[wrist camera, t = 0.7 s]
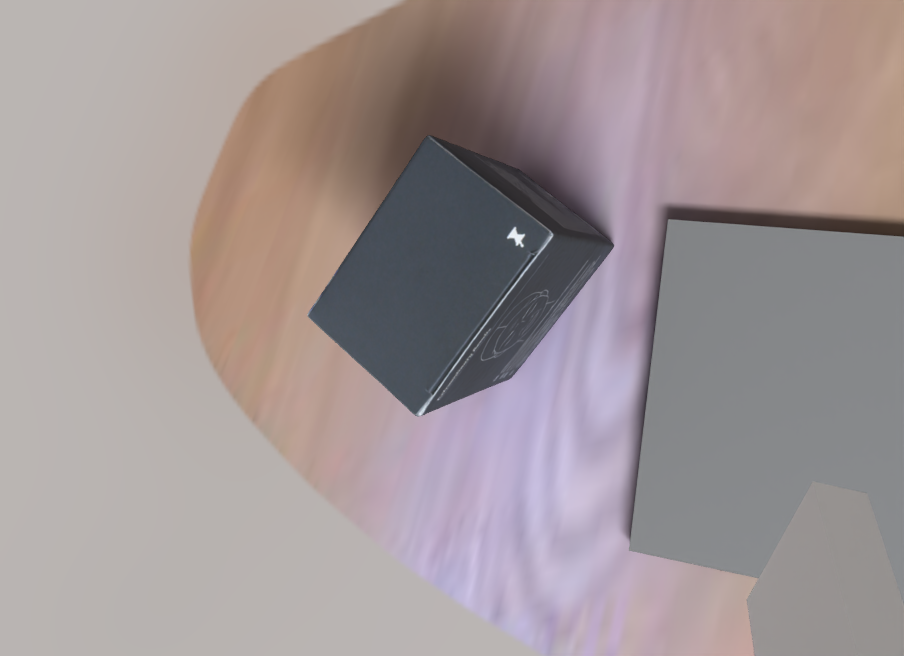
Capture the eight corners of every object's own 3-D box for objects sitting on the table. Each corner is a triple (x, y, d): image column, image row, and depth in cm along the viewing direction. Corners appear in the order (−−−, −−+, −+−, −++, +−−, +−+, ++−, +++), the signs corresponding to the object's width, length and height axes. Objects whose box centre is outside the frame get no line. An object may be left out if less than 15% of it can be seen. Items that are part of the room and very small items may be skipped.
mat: (1104, 252, 29) (1113, 252, 28) (1039, 631, 30) (1046, 639, 30) (670, 220, 34) (668, 219, 34) (631, 544, 36) (628, 550, 35)
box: (518, 167, 37) (426, 128, 27) (618, 245, 35) (560, 234, 25) (418, 305, 39) (299, 316, 29) (509, 384, 37) (416, 423, 27)
